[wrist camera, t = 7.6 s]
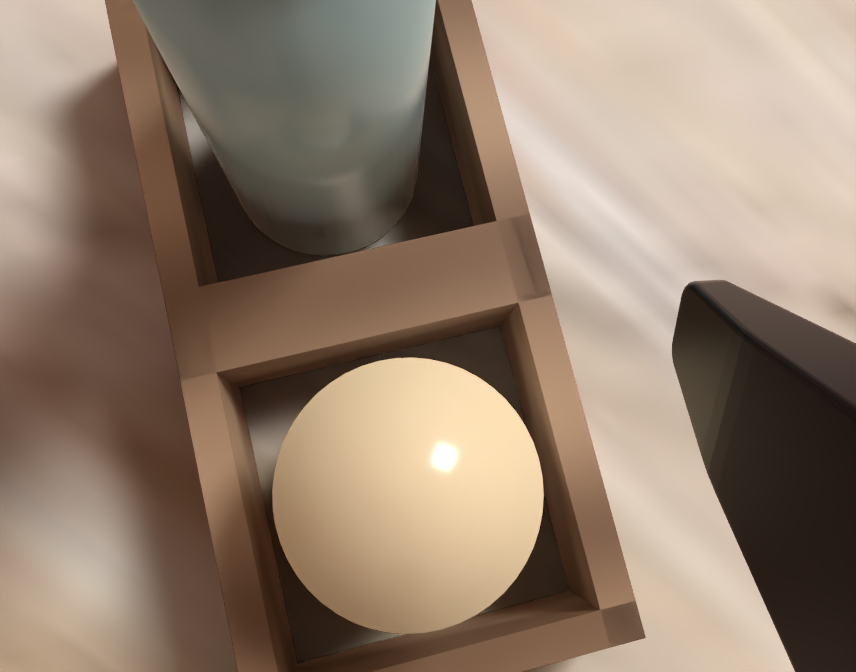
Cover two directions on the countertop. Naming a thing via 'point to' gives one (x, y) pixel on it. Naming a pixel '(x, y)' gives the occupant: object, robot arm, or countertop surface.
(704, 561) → the countertop surface
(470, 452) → the cream lidded jar
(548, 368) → the caddy
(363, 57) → the tall jar
